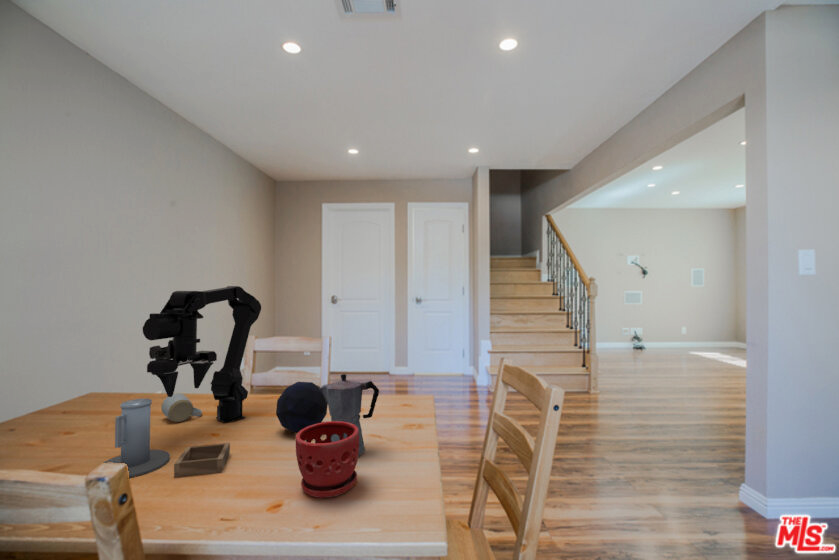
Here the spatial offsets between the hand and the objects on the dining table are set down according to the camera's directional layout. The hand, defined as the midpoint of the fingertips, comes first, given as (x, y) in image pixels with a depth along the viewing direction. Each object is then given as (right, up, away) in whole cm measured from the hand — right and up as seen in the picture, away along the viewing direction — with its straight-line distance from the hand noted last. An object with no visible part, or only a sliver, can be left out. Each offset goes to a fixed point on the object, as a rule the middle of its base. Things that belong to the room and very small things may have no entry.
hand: (183, 392), depth 109 cm
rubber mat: (-2, -13, -16) cm, 20 cm away
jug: (-2, -12, -16) cm, 20 cm away
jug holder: (+14, -13, -16) cm, 25 cm away
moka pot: (+47, -13, -8) cm, 50 cm away
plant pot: (+46, -13, -26) cm, 54 cm away
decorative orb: (+31, -14, +7) cm, 34 cm away
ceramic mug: (-11, -14, +17) cm, 24 cm away
